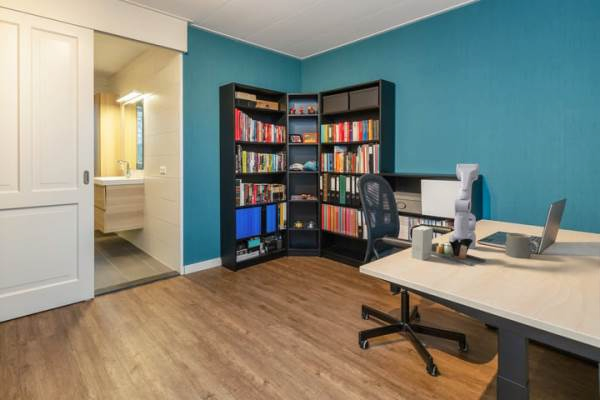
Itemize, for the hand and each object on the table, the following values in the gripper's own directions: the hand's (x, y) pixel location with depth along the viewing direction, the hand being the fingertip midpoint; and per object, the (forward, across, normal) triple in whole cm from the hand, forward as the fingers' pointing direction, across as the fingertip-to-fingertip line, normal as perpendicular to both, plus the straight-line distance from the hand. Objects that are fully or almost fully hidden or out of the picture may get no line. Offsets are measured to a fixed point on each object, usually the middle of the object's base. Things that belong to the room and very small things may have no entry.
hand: (460, 255), depth 153 cm
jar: (+2, 0, 0) cm, 2 cm away
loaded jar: (+2, 0, +6) cm, 6 cm away
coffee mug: (+2, +30, -11) cm, 32 cm away
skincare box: (+2, -14, +10) cm, 17 cm away
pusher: (+2, 0, +9) cm, 9 cm away
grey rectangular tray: (+2, 0, +4) cm, 5 cm away
